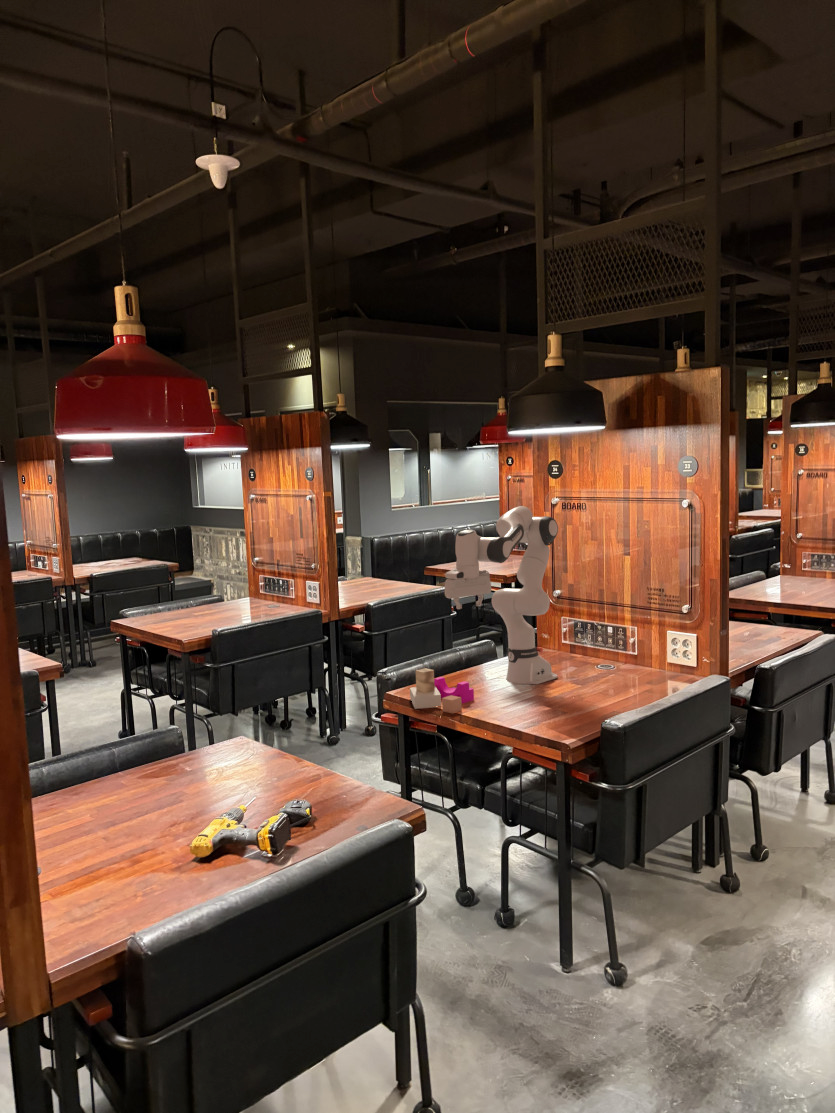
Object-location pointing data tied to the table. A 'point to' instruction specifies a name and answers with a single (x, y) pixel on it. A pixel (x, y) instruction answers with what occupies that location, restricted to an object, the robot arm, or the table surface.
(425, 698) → the base block
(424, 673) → the maple block
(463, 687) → the toy block
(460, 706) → the terracotta cube
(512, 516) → the robot arm
